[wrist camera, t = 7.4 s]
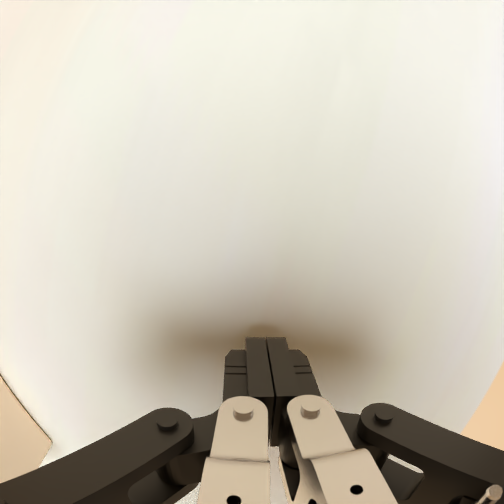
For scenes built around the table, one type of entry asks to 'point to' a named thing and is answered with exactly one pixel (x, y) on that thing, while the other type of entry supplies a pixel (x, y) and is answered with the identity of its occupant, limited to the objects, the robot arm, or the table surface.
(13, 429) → the medicine bottle
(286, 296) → the table surface
